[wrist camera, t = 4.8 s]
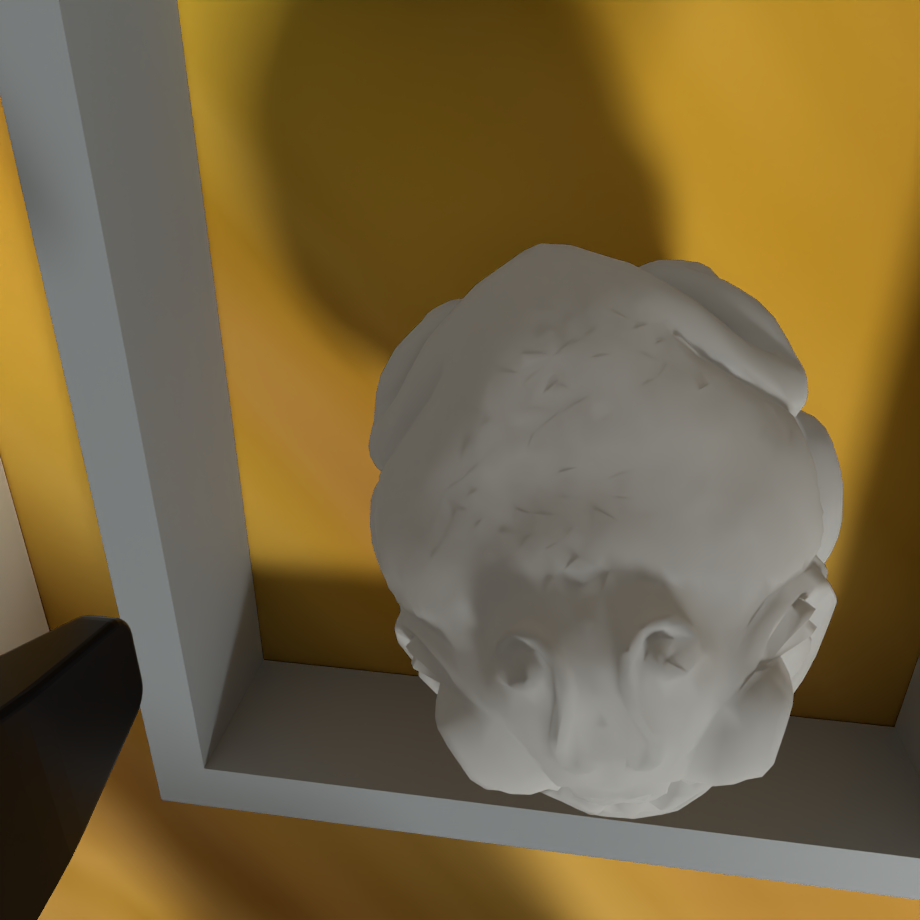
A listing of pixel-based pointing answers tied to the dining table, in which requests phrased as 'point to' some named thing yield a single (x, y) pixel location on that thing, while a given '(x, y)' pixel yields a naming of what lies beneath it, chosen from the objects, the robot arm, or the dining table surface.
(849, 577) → the dining table surface
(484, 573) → the grey rounded lumpy piece
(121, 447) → the grey square frame
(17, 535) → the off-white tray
